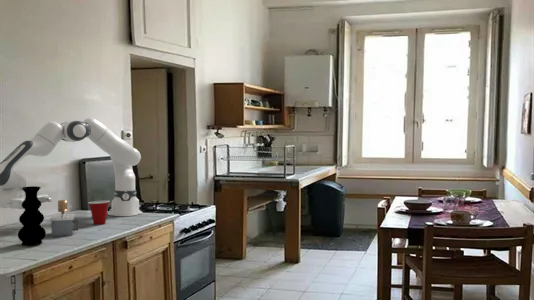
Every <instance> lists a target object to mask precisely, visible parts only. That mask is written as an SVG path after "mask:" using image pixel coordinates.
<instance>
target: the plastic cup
mask: <svg viewBox="0 0 534 300" xmlns="http://www.w3.org/2000/svg"><path fill="white" fill-rule="evenodd" d="M110 202H111V201H110V200H108V199H107V200H104V199H103V200H95V201H93V200H92V201H88V205H89V208H90V211H91V212H90V213H91V218H92V222H93V225H95V226H99V225H100V226H101V225H105V224H106V222H107V217H108V209H109V205H110Z"/></svg>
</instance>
